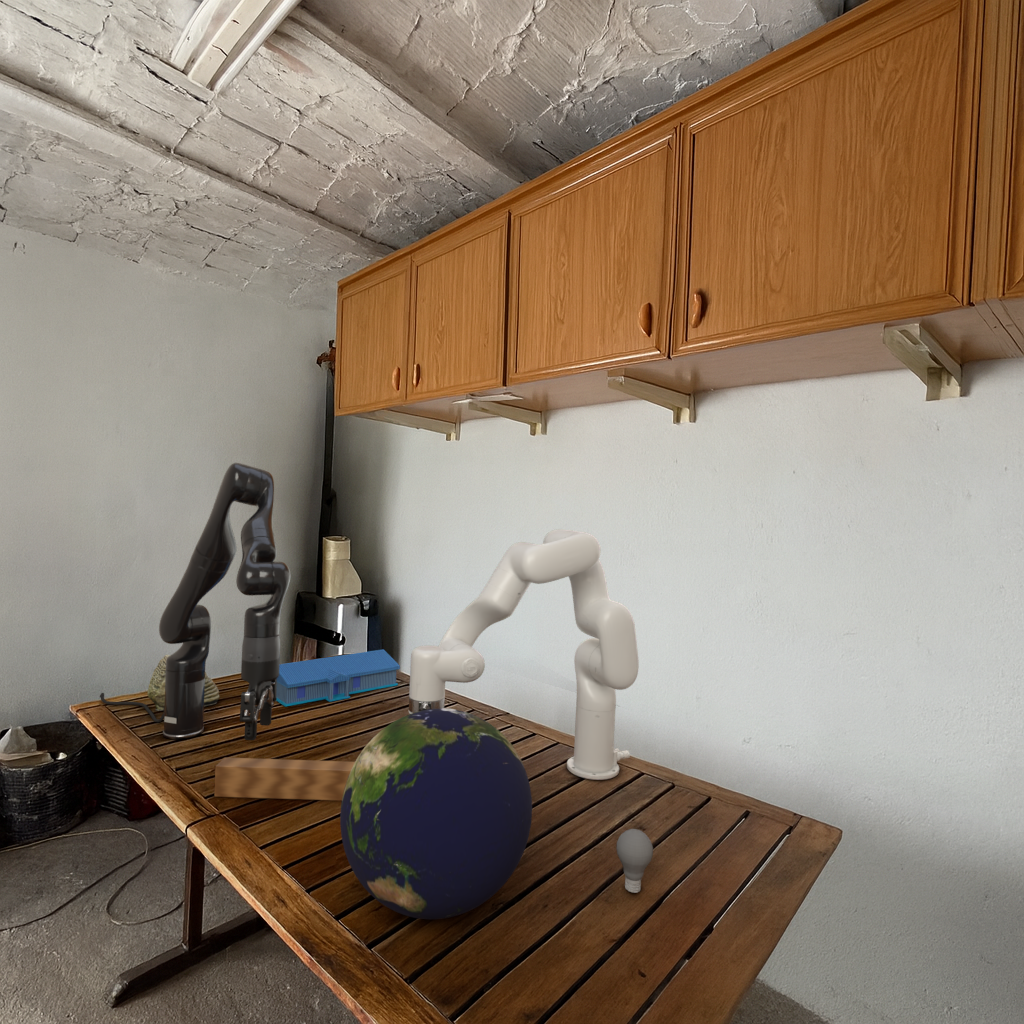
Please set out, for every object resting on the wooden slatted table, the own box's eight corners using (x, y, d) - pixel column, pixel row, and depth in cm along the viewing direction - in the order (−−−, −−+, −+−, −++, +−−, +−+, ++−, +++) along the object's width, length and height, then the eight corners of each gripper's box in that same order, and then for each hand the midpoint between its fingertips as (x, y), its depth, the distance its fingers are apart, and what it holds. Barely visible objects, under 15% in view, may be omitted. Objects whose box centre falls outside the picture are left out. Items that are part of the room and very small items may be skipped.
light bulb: (610, 879, 108) (613, 822, 108) (644, 879, 109) (647, 822, 109) (619, 902, 102) (622, 840, 102) (655, 901, 103) (658, 840, 103)
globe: (293, 930, 92) (301, 726, 92) (403, 834, 120) (409, 676, 120) (479, 999, 81) (489, 767, 81) (552, 875, 109) (560, 702, 108)
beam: (214, 796, 132) (215, 766, 132) (223, 786, 136) (224, 757, 136) (458, 804, 133) (460, 774, 133) (460, 794, 138) (461, 765, 137)
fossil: (144, 707, 182) (145, 655, 182) (212, 696, 194) (213, 647, 194) (151, 716, 175) (153, 662, 175) (221, 703, 188) (223, 653, 188)
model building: (289, 709, 186) (291, 675, 185) (258, 688, 204) (259, 657, 204) (403, 687, 212) (405, 657, 212) (366, 670, 230) (368, 643, 230)
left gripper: (266, 665, 127) (263, 745, 127) (289, 648, 141) (287, 720, 141) (228, 664, 127) (226, 744, 127) (255, 647, 141) (253, 719, 141)
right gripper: (440, 719, 126) (437, 810, 127) (447, 693, 143) (444, 773, 144) (403, 718, 126) (399, 808, 127) (414, 692, 143) (410, 772, 143)
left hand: (258, 731), depth 134 cm, fingers open, 8 cm apart
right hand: (423, 789), depth 135 cm, fingers closed on beam, 4 cm apart
